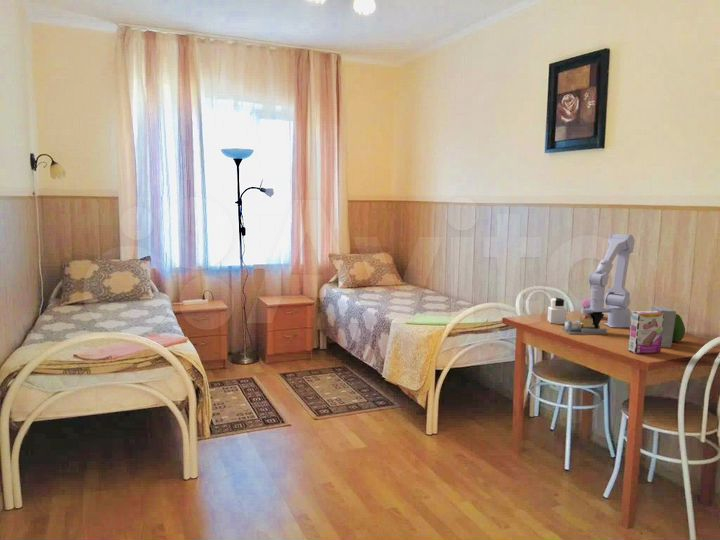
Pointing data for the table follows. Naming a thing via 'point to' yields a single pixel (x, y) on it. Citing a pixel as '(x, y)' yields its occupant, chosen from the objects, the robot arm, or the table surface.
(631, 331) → the candy bar box
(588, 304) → the cupcake
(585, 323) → the valve
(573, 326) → the grey piece
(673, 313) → the skincare box
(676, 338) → the avocado
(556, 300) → the medicine bottle
